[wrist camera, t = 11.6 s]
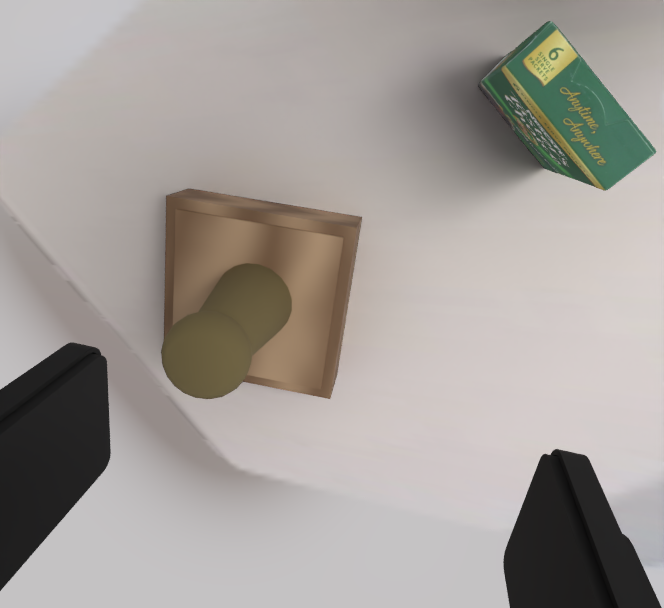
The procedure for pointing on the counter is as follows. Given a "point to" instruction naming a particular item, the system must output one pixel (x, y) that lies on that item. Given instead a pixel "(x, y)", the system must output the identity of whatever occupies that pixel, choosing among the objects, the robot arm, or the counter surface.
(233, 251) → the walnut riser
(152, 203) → the counter surface
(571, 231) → the counter surface
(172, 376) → the olive tapered piece
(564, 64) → the coffee box
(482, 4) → the counter surface
